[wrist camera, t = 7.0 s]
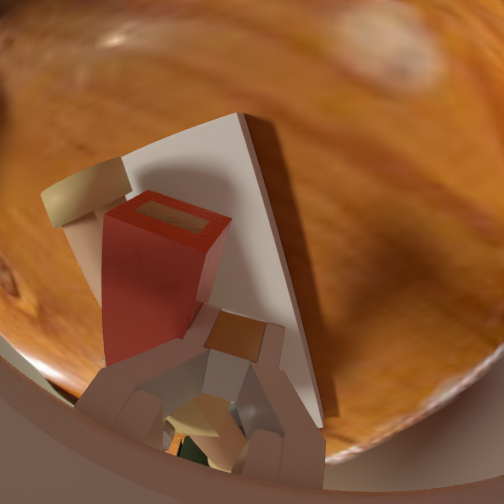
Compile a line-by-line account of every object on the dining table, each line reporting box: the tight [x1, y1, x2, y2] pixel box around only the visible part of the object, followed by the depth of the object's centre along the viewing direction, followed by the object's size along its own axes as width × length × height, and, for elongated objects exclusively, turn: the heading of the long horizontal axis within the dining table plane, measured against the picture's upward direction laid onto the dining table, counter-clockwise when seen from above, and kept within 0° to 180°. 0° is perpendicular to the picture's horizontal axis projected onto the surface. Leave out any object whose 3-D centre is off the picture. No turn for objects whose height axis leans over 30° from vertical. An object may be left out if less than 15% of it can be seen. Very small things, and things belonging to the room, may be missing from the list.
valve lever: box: [101, 190, 232, 451], centre depth 9 cm, size 12×3×2 cm, turn 163°
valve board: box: [41, 113, 324, 473], centre depth 16 cm, size 13×23×8 cm, turn 16°
